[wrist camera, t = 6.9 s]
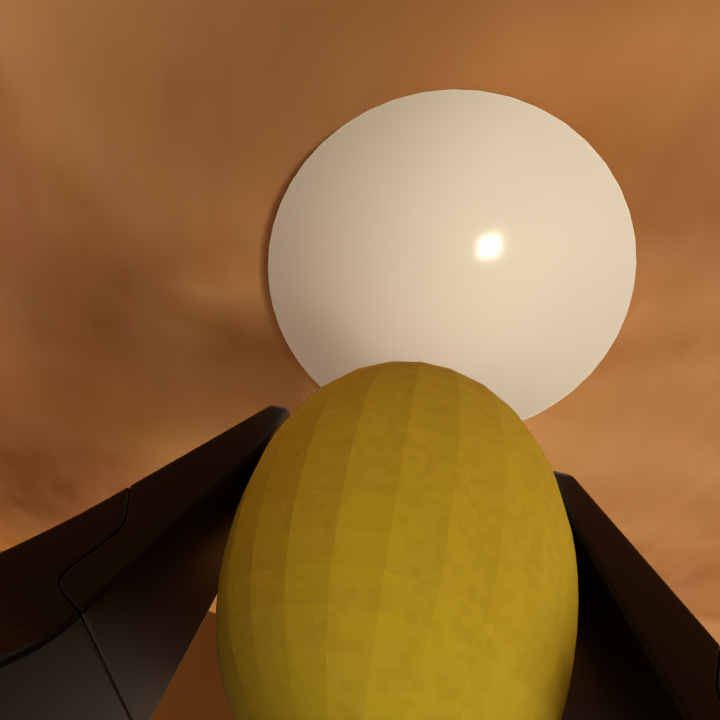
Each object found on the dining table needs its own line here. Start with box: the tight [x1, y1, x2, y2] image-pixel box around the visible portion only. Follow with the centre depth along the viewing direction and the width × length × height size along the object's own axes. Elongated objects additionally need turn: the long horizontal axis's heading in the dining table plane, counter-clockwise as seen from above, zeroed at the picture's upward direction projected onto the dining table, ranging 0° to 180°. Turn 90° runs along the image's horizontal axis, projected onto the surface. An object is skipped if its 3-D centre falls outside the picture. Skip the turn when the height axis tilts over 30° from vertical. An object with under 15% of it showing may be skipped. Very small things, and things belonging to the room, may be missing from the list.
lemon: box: [216, 361, 578, 720], centre depth 7 cm, size 6×6×8 cm
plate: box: [268, 89, 636, 421], centre depth 17 cm, size 14×14×1 cm
